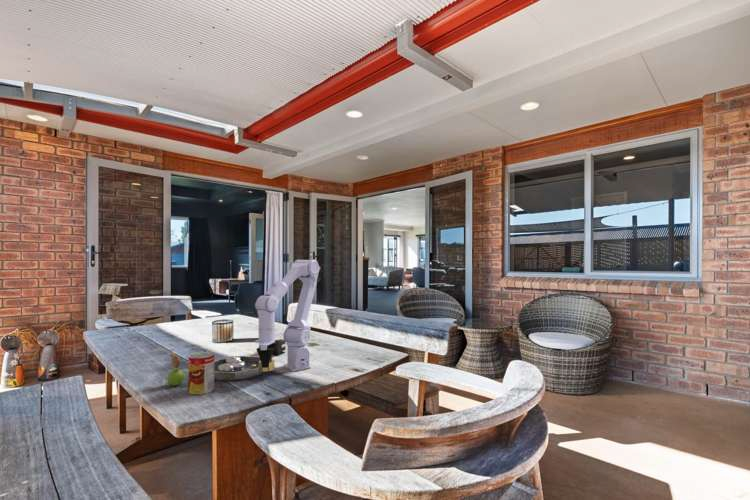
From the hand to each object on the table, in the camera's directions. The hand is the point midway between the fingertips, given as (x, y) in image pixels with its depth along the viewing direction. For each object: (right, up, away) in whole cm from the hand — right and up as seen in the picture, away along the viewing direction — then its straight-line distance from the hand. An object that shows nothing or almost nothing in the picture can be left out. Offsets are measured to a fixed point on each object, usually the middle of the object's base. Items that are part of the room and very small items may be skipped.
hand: (266, 364), depth 134 cm
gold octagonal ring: (0, -2, 0) cm, 2 cm away
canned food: (-18, -5, -13) cm, 23 cm away
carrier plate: (-13, -5, +7) cm, 16 cm away
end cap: (-7, -6, +33) cm, 35 cm away
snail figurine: (-30, -5, -8) cm, 31 cm away
